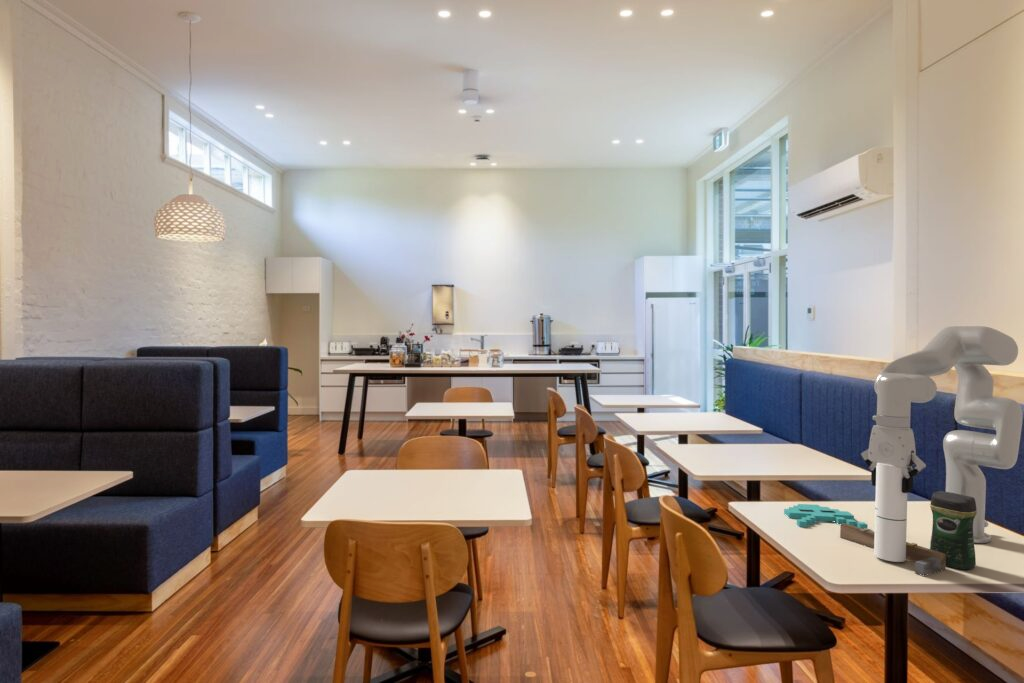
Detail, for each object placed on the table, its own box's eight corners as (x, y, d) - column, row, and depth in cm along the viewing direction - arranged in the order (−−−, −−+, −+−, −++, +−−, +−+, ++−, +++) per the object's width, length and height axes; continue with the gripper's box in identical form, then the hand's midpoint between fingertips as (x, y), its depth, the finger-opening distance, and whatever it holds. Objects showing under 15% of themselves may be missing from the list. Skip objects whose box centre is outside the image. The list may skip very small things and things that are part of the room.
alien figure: (867, 531, 184) (838, 512, 204) (867, 524, 184) (838, 505, 204) (799, 528, 186) (777, 509, 206) (799, 521, 186) (777, 503, 206)
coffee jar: (979, 566, 156) (982, 495, 156) (967, 573, 151) (969, 500, 151) (937, 554, 164) (939, 487, 164) (924, 560, 160) (926, 491, 159)
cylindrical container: (899, 553, 162) (901, 461, 162) (910, 563, 156) (912, 467, 155) (870, 550, 164) (872, 459, 164) (879, 560, 157) (882, 465, 157)
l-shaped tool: (844, 536, 178) (845, 522, 177) (945, 569, 154) (946, 552, 154) (822, 541, 173) (823, 526, 173) (923, 576, 149) (924, 559, 149)
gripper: (852, 418, 165) (851, 482, 165) (920, 428, 150) (918, 498, 150) (869, 416, 169) (867, 479, 169) (936, 426, 153) (934, 495, 153)
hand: (891, 488), depth 159 cm, fingers closed on cylindrical container, 7 cm apart
